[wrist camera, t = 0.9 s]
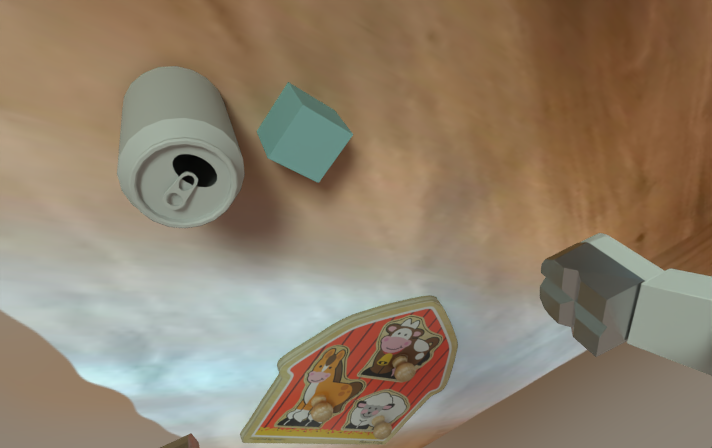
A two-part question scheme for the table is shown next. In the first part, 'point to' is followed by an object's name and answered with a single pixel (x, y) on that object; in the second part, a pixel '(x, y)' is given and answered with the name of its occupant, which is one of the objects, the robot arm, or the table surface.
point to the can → (178, 149)
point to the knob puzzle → (358, 377)
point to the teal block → (303, 133)
